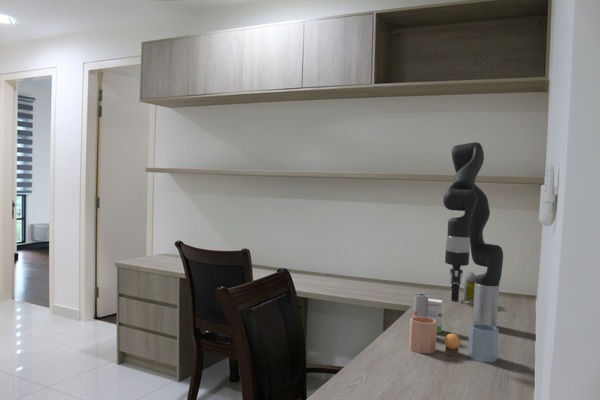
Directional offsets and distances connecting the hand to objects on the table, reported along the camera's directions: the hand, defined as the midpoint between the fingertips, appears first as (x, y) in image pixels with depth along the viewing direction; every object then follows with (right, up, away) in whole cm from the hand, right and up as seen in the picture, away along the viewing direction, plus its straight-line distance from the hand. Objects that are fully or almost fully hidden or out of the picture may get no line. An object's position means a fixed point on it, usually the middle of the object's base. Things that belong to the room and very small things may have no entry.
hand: (454, 298), depth 162 cm
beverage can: (-7, -18, +20) cm, 27 cm away
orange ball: (-1, -14, +1) cm, 14 cm away
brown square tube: (-1, -18, +1) cm, 18 cm away
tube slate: (+8, -19, -2) cm, 21 cm away
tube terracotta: (-10, -18, +4) cm, 21 cm away
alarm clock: (+29, -18, +74) cm, 82 cm away
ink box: (-1, -18, +27) cm, 32 cm away
